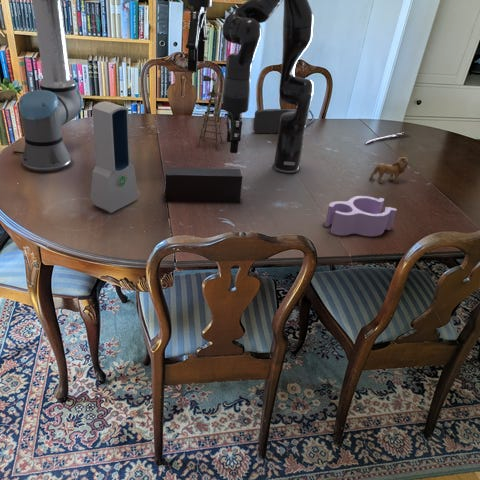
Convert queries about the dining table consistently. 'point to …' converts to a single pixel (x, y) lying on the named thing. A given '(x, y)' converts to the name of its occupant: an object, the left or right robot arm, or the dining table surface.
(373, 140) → the sword
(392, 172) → the lion figurine
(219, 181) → the bar
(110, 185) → the electronic device
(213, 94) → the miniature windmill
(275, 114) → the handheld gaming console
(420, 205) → the dining table surface
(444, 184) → the dining table surface
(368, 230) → the clip
